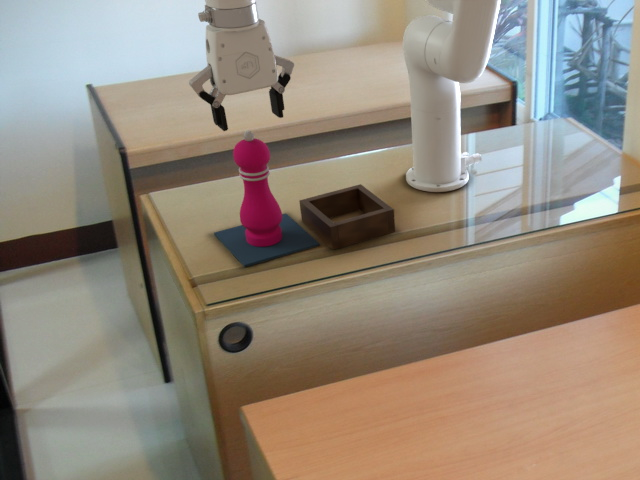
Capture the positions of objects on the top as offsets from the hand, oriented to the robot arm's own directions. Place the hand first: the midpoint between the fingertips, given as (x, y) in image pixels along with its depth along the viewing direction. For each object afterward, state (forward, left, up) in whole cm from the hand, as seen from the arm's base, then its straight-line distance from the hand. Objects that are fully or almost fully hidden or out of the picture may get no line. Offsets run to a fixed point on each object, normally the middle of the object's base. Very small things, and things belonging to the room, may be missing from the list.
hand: (250, 121), depth 155 cm
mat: (0, 0, -22) cm, 22 cm away
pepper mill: (+1, 0, -22) cm, 22 cm away
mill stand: (-14, +4, -22) cm, 26 cm away
